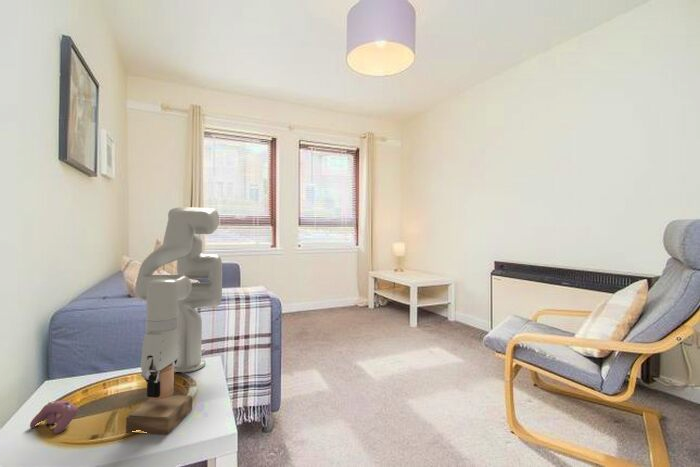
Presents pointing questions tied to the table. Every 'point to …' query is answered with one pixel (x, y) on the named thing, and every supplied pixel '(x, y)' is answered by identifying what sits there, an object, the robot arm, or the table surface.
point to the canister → (165, 382)
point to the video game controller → (56, 415)
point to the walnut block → (159, 415)
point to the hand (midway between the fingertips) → (161, 390)
